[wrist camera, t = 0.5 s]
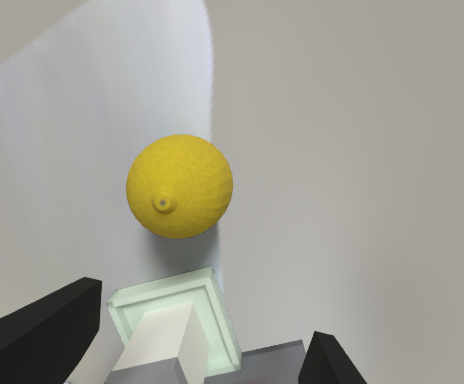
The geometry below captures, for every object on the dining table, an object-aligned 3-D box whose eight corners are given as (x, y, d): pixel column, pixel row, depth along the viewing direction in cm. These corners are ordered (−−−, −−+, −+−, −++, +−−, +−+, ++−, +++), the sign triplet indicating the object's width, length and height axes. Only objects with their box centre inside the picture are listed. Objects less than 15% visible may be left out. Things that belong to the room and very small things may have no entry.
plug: (161, 356, 21) (130, 441, 15) (143, 312, 20) (103, 384, 15) (210, 345, 21) (197, 428, 15) (194, 300, 20) (173, 369, 14)
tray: (150, 372, 23) (144, 390, 21) (116, 290, 21) (105, 302, 19) (241, 352, 22) (241, 369, 20) (212, 265, 20) (209, 276, 19)
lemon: (219, 222, 19) (203, 281, 12) (147, 196, 19) (82, 238, 11) (246, 151, 18) (249, 164, 10) (170, 122, 18) (115, 113, 10)
